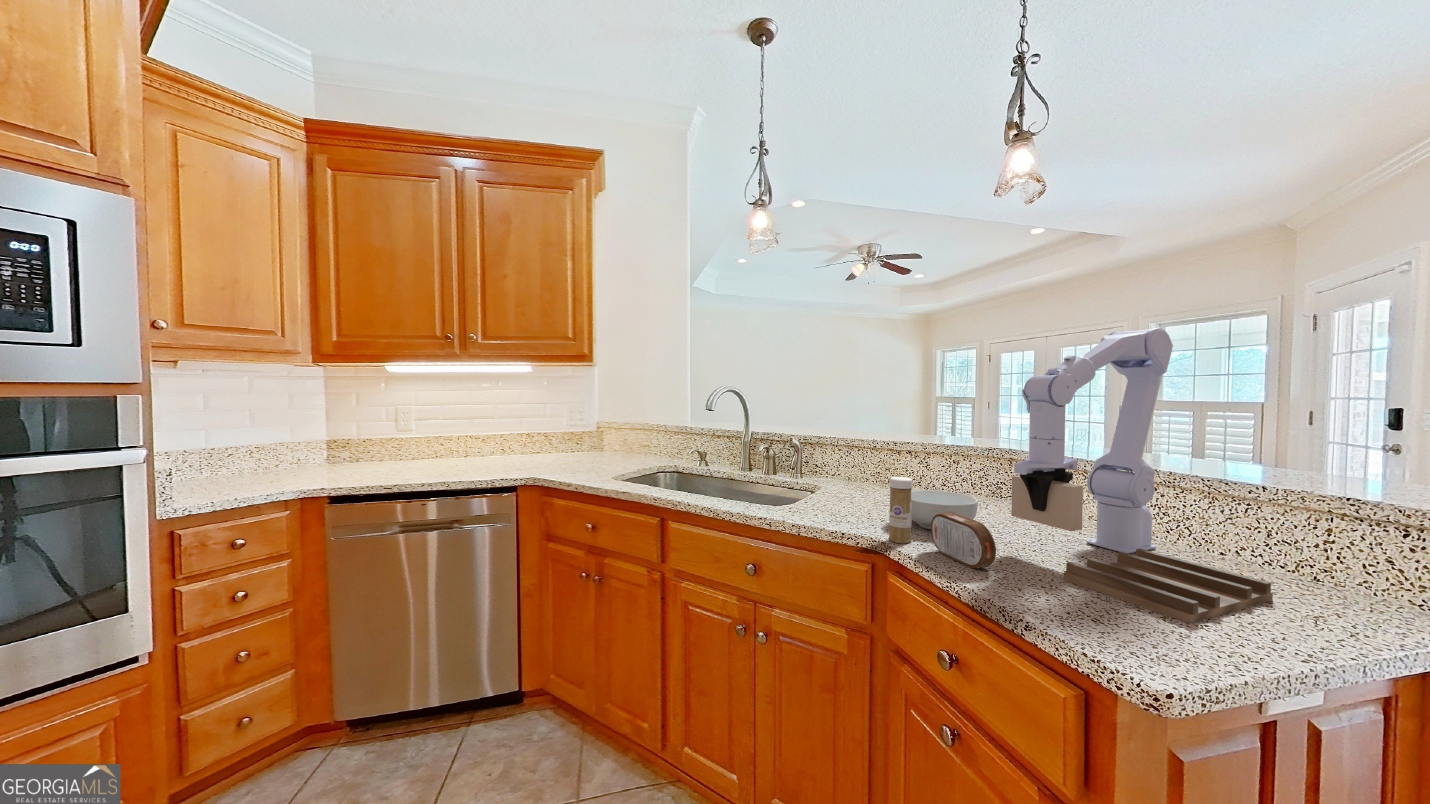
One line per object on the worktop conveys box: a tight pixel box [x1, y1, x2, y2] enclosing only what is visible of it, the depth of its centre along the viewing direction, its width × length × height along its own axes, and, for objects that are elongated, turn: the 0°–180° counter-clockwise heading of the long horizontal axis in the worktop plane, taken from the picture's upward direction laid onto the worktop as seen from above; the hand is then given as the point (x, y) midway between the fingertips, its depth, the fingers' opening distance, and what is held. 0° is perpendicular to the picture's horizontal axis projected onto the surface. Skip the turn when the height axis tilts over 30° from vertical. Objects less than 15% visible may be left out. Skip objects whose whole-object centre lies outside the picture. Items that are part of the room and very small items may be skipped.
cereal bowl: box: [911, 489, 979, 530], centre depth 124 cm, size 17×17×7 cm
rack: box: [1063, 549, 1274, 625], centre depth 86 cm, size 21×18×3 cm
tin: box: [930, 511, 997, 569], centre depth 100 cm, size 15×3×8 cm, turn 14°
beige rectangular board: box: [1010, 474, 1084, 532], centre depth 101 cm, size 3×12×8 cm, turn 22°
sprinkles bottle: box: [888, 476, 913, 545], centre depth 112 cm, size 5×5×14 cm
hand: (1045, 509), depth 101 cm, fingers closed on beige rectangular board, 3 cm apart
